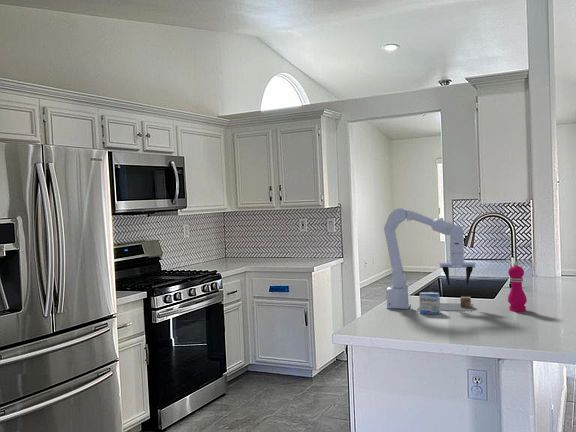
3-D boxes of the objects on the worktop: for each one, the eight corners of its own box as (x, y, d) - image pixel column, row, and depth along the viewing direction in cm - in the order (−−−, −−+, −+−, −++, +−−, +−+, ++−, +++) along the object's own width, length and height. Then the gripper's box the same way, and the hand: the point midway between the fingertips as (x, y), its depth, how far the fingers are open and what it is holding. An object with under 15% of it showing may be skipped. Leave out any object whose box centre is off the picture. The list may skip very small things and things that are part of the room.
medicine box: (419, 314, 221) (418, 293, 221) (421, 312, 225) (420, 291, 225) (439, 315, 218) (438, 294, 218) (440, 312, 222) (439, 292, 222)
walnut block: (460, 307, 228) (460, 298, 228) (461, 305, 232) (460, 296, 232) (470, 307, 227) (470, 298, 227) (470, 305, 231) (470, 296, 231)
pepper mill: (527, 309, 221) (525, 261, 221) (527, 312, 214) (525, 263, 214) (508, 308, 224) (506, 261, 224) (507, 311, 218) (505, 263, 217)
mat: (417, 310, 229) (417, 309, 229) (421, 303, 243) (421, 302, 243) (471, 311, 221) (471, 310, 221) (472, 304, 235) (472, 303, 235)
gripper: (439, 254, 227) (440, 285, 227) (475, 253, 223) (476, 285, 223) (439, 252, 233) (440, 283, 234) (473, 251, 230) (474, 283, 230)
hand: (457, 284), depth 229 cm, fingers open, 7 cm apart
